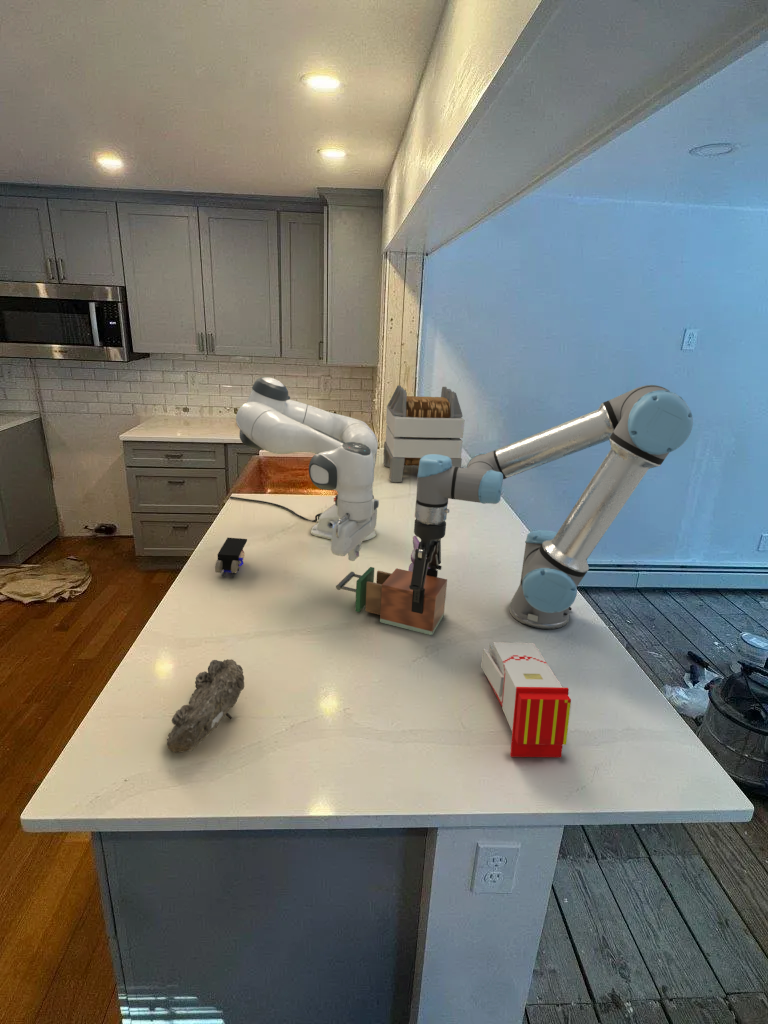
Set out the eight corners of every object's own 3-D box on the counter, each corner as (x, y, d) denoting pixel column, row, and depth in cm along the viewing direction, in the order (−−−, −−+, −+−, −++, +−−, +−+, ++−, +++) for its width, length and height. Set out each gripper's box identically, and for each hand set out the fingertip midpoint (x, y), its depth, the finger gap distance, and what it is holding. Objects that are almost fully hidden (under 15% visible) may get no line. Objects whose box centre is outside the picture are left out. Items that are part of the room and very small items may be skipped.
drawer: (335, 606, 147) (335, 575, 144) (349, 591, 155) (350, 562, 152) (401, 623, 141) (403, 591, 138) (413, 606, 149) (415, 576, 146)
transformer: (382, 463, 289) (386, 382, 275) (445, 464, 293) (451, 384, 279) (390, 482, 257) (394, 392, 243) (460, 483, 261) (468, 394, 247)
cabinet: (379, 622, 143) (381, 584, 139) (394, 603, 152) (396, 568, 148) (432, 635, 139) (435, 597, 135) (443, 615, 148) (447, 579, 144)
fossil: (192, 660, 117) (244, 628, 112) (224, 691, 120) (276, 661, 115) (142, 746, 98) (202, 712, 93) (182, 779, 101) (242, 748, 96)
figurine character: (238, 584, 162) (249, 557, 175) (236, 562, 158) (247, 536, 172) (215, 584, 161) (227, 556, 175) (212, 561, 158) (225, 535, 171)
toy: (531, 625, 126) (580, 695, 97) (526, 680, 129) (572, 765, 100) (477, 624, 126) (510, 694, 96) (473, 679, 129) (504, 764, 99)
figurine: (415, 595, 157) (419, 545, 152) (397, 579, 166) (400, 532, 161) (444, 589, 161) (448, 540, 156) (425, 574, 170) (428, 527, 165)
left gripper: (349, 523, 131) (347, 577, 136) (381, 498, 149) (379, 547, 154) (324, 519, 133) (324, 572, 138) (359, 495, 152) (358, 542, 156)
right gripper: (431, 539, 124) (424, 627, 131) (457, 508, 144) (450, 586, 151) (399, 532, 126) (394, 619, 134) (429, 503, 146) (423, 580, 154)
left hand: (353, 558), depth 146 cm, fingers closed
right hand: (424, 602), depth 142 cm, fingers closed on cabinet, 10 cm apart
